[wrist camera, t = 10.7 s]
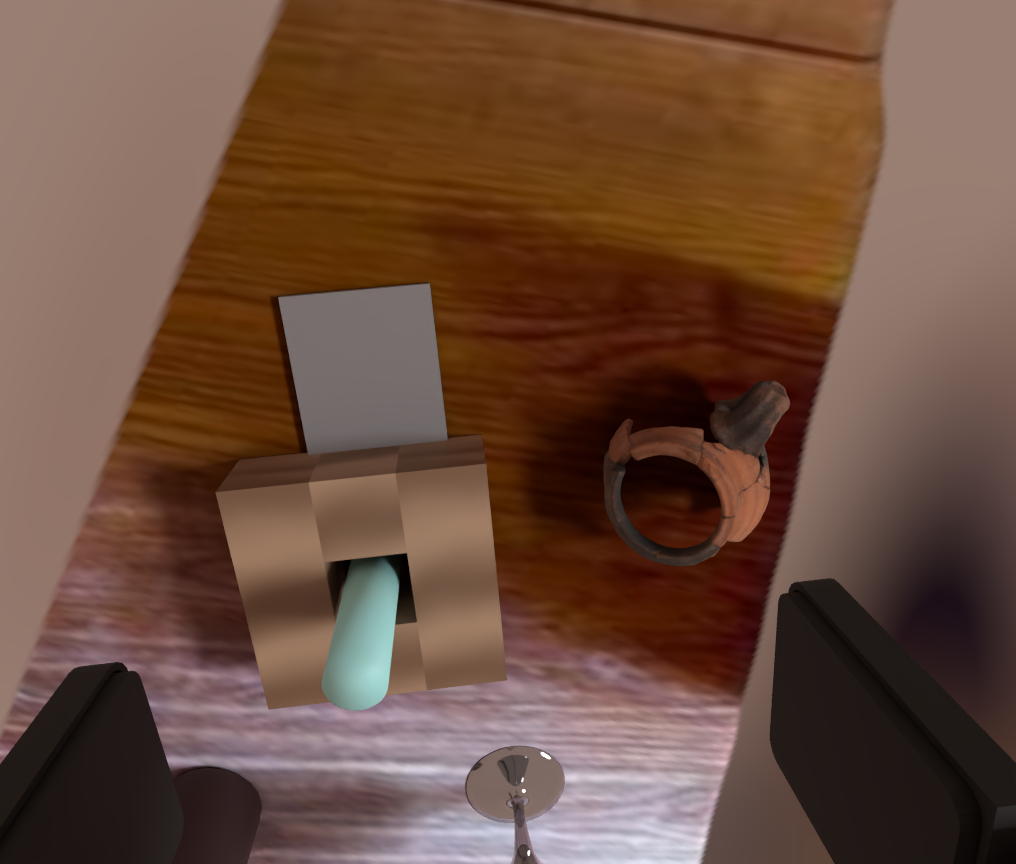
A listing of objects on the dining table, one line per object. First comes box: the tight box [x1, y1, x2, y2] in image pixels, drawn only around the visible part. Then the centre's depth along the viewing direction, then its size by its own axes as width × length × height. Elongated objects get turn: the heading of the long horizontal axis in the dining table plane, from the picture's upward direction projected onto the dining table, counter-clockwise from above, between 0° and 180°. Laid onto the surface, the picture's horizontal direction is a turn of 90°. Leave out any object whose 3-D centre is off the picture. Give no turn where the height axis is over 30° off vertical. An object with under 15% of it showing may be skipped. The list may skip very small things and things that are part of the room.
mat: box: [278, 283, 448, 455], centre depth 39 cm, size 10×8×1 cm
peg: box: [321, 553, 403, 710], centre depth 38 cm, size 3×3×12 cm
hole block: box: [216, 434, 507, 709], centre depth 41 cm, size 14×14×4 cm
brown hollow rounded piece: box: [603, 380, 790, 566], centre depth 40 cm, size 12×10×8 cm
